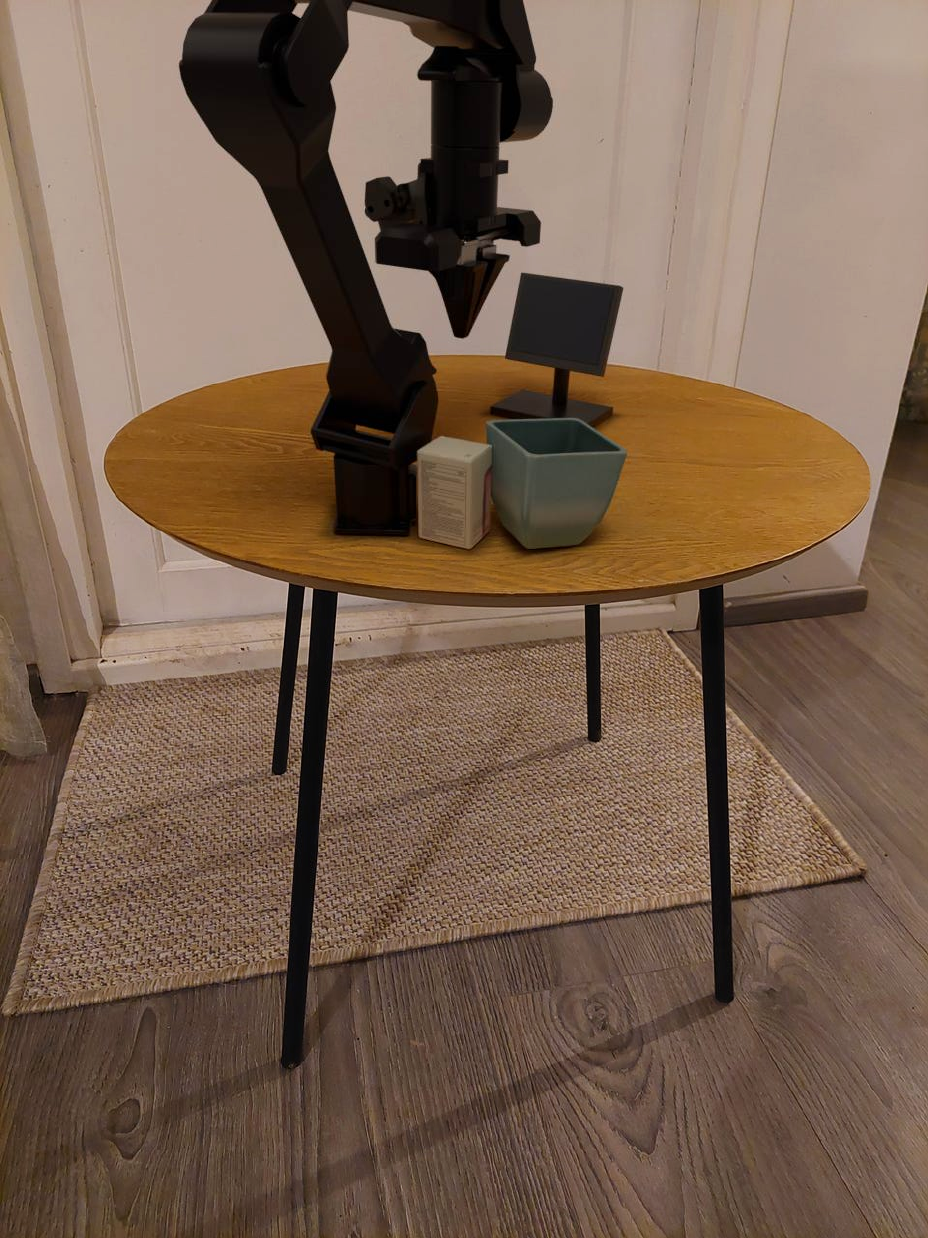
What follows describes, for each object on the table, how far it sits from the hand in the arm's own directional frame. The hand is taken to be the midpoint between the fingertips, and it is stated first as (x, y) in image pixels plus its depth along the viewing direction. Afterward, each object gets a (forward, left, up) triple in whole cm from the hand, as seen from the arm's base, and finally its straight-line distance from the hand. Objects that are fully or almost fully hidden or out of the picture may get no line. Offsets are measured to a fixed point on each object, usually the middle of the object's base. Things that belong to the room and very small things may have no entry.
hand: (460, 337), depth 83 cm
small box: (0, -15, -13) cm, 20 cm away
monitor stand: (+11, +18, -13) cm, 25 cm away
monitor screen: (+11, +18, -7) cm, 22 cm away
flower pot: (+7, -15, -13) cm, 21 cm away
